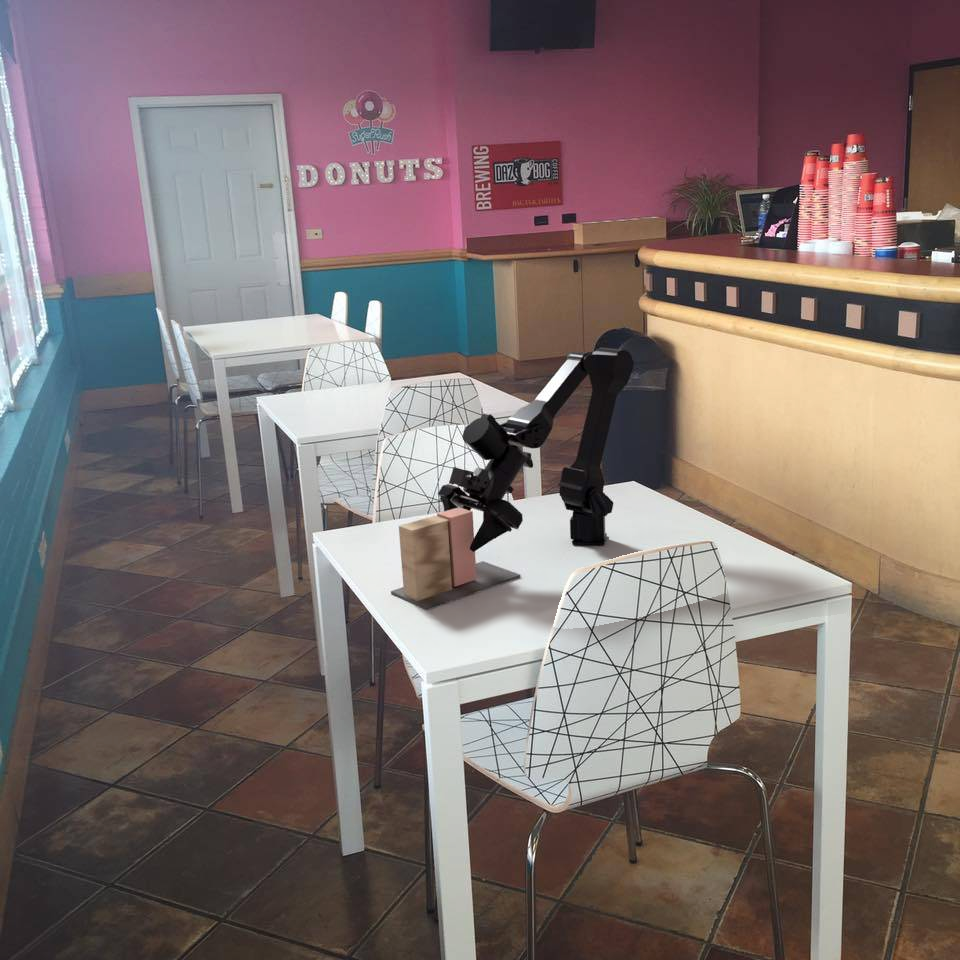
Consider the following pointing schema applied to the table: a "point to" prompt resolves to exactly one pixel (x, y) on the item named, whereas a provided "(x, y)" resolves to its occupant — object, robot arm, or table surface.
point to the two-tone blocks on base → (438, 566)
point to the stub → (461, 544)
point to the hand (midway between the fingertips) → (455, 544)
